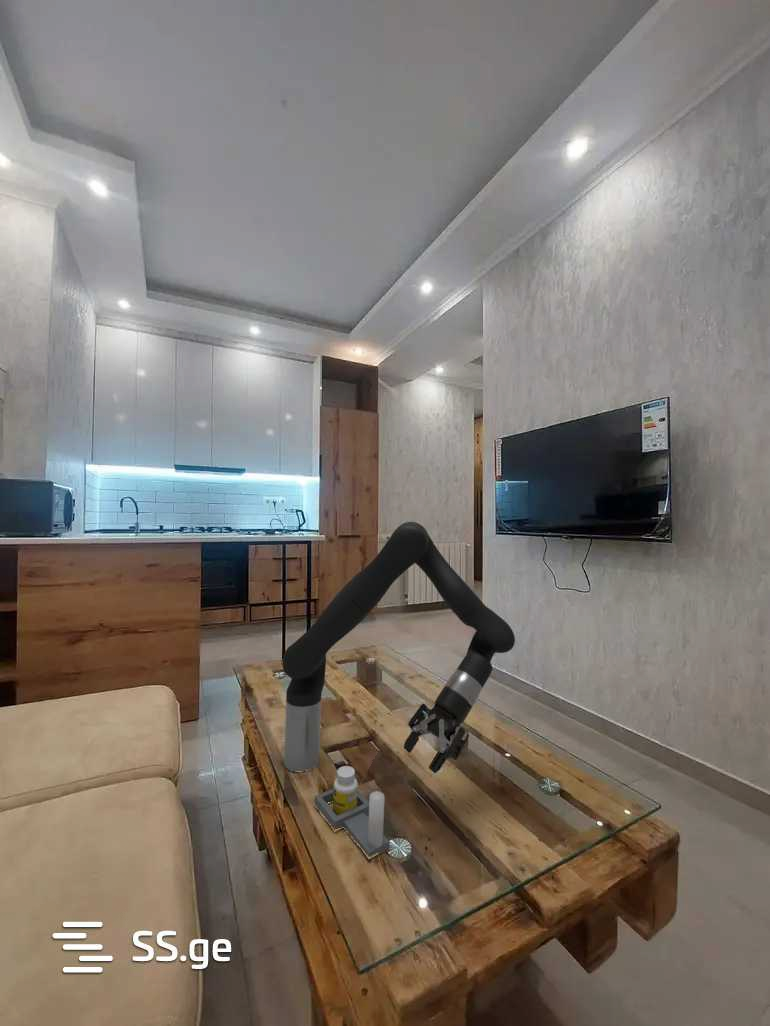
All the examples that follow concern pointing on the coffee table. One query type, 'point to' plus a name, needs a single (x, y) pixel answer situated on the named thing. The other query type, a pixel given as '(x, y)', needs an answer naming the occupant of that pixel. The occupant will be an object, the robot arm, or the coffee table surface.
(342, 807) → the supplement bottle
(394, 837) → the coffee table surface
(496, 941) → the coffee table surface
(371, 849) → the grey square holder tray
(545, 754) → the coffee table surface
